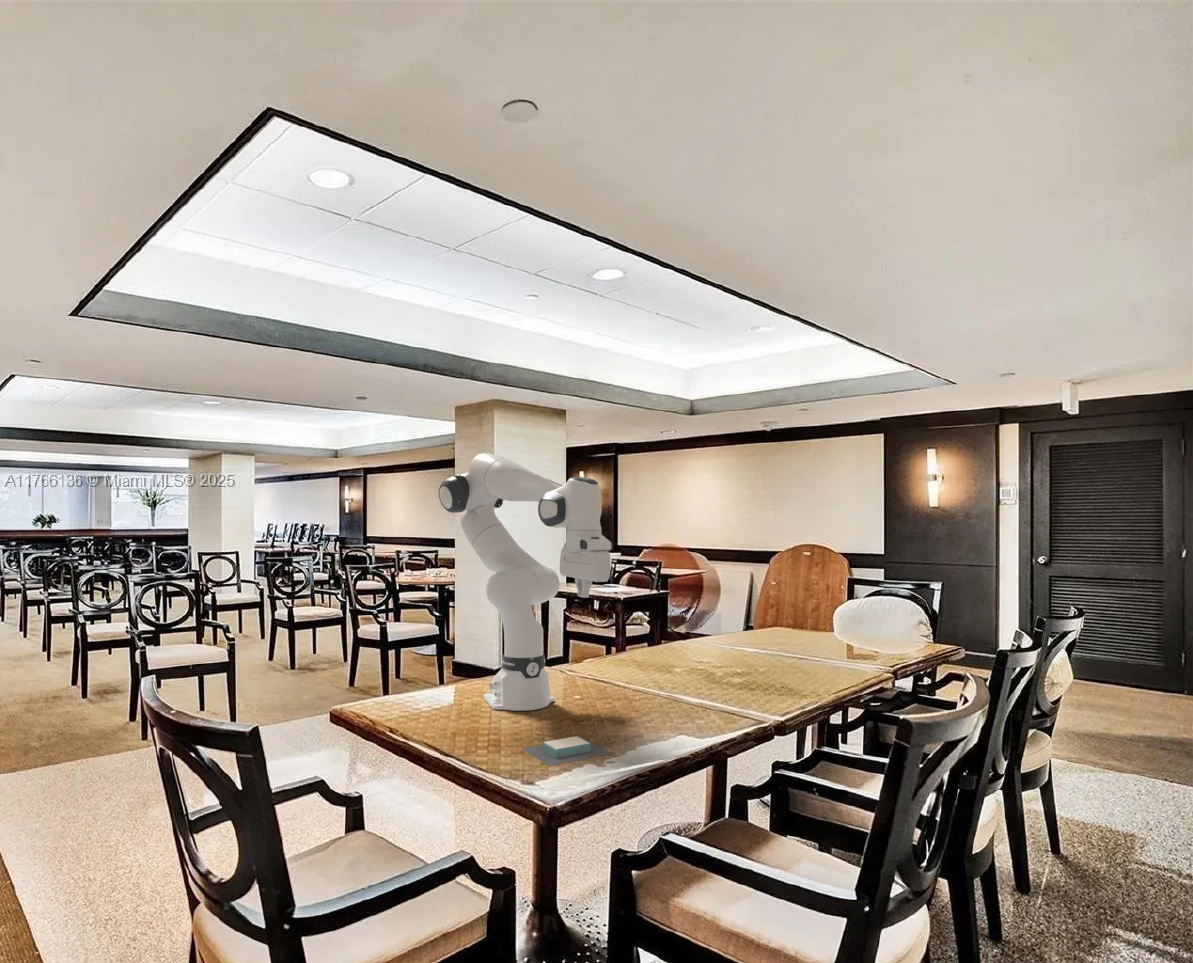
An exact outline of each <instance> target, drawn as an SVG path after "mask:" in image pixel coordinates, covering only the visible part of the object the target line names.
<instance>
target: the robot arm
mask: <svg viewBox="0 0 1193 963" xmlns="http://www.w3.org/2000/svg"><path fill="white" fill-rule="evenodd" d="M438 498H439V502H440V504H441V507H443V508H444V510H446V511H447V512H448V513H450V514H451V513H453V514H458V513H462V512H463V514H461V518H460V525H461V529H462V530H463V532H464V535H465V536H466V538H467V540H468V542H469V544H470V545H471V547H472V548H473V550H474V551H475V553H476V554H477V556H478V557H479V558H480V559H481V562H482V563H483V564H484V566H485V567H486V568H488V570H490V571H492V572H494V574H492V575H490V577H489V578H488V580H487V583H486V585H485V593H486V597H487V599H488V601H489V602H490V604H491V605H493V606H494V607H495V609H496V610H497V611H498V613H499V616H500V619H501V621H502V625H503V626H502V628H503V639H504V640H503V642H504V643H503V644H504V646H503V648H504V652H503V653H504V654H502V655H501V656H502V659H501V665H500V666H501V669H500V670H498V672H497V673H496V675H494V677H493V678H492V680H491V681H490V682H489V684H488V685H489V687H488V688H489V690H491V691H490V692H487V693H484V695H483V699H484V700H485V701H486V702H487V704H488V705H489V707H490V708H491V709H493V710H499V711H500V710H506V711H516V712H518V711H523V712H525V711H534V710H539V709H544V708H547V707H548V706H549V705H550V704H551V703H552V702H553V703H554V701H555V697H554V696H551V689H550V688H551V687H550V676H549V675H550V674H549V672H548V671H546V669H545V667H546V657H545V653H544V627H543V625H542V624H541V623H540V622H539V621H537V620H536V617H535V616H534V612H533V605H541V604H543V603H546V602H547V601H550V600H552V599H553V598H555V596H557V594H558V592H559V590H560V579H559V576H558V574H557V573H556V571H555V570H553V569H552V568H550V567H548V566H546V565H543V564H542V563H541V562H539V561H538V560H536V559H535V558H534V557H532V556H531V555H530V554H529V553H528V552H526V551H525V550H524V549H523V548H522V547H521V546H520V545H519V544H518V543H517V542H516V540H515V539H514V538H513V537H512V535H511V534H510V532H509V531H508V530H507V528H506V527H505V526H504V524H503V523H502V521H501V520H499V518H498V517H497V515H496V512H495V509H499V508H501V507H502V506H503V503H504V501H509V502H534V503H535V502H538V505H537V512H538V517H539V519H540V521H541V522H542V523H543V525H544V526H546V527H550V528H566V529H565V533H566V534H565V535H566V537H565V543H564V544H563V547H562V548H561V552H560V558H559V559H560V560H559V573H560V575H561V576H563V577H569V578H573V579H574V584H575V587H576V589H577V596H578V597H580V598H585V599H586V598H590V590H591V587H592V585H593V582H595V583H602V582H603V583H604V582H608V581H609V579H610V577H611V553H610V551H611V550H612V541H610V540H609V539H608V538H606V537H605V536H604V535H603V534H602V526H601V521H600V520H601V515H602V513H603V507H602V506H603V505H602V492H601V487H600V484H599V482H598V481H597V480H596V479H593V478H590V477H583V476H573V477H570V478H569V479H568V480H567V481H566V483H564V484H560V483H557V482H555V481H553V480H550V479H548V478H545V477H543V476H542V475H539V474H537V473H535V472H534V471H532V470H530V469H527V468H525V467H524V466H522V465H520V464H519V463H516V462H514V461H512V460H511V459H508V458H506V457H503V456H501V455H498V454H494V453H489V452H483V453H479V454H477V455H476V456H474V457H473V459H472V460H471V462H470V464H469V469H468V471H467V472H464V473H462V474H460V473H459V474H456V475H453V476H450V477H448V478H447V479H445V480H444V481H442V482H441V483H440V486H439V488H438Z"/></svg>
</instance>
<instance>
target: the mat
mask: <svg viewBox="0 0 1193 963" xmlns="http://www.w3.org/2000/svg"><path fill="white" fill-rule="evenodd" d="M580 738H581V739H583V740H585V741H587V742H589V743H591V751H590V752H585V753H579V754H574V755H569V756H563V757H558V758H555V757H553V756H552V755H550V754H548V753H547V752H545V751H543V744H540V745H533V746H528V747H523V748H522V750H524V751H526V752H527V753H528V754H530V755H531V756H533V757H534V758H536V759H538V760H539V761H541V762H542V763H544V764H546V765H547V766H548V767H552V766H553V767H554V766H558V765H562V764H567V763H575V762H579V761H583V760H589V759H595V758H600V757H605V756H609V755H611V756H612V755H614V753H613V752H612V751H609V750H607V749H605V748H603V747H602V746H599V745H598V744H596V743H594V742H592V741H590V740H588V739H586V738H585V737H580Z"/></svg>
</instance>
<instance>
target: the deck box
mask: <svg viewBox="0 0 1193 963" xmlns="http://www.w3.org/2000/svg"><path fill="white" fill-rule="evenodd" d="M581 738H582V737H579V736H576V735H575V736H569V737H564V738H559V739H558V738H557V739H553V740H548V741H543V742H542V745H543V751H545V752H547V753H548V754H550V755H552V756H553V757H555V758H558V757H563V756H569V755H574V754H579V753H585V752H590V751H591V743H589V742H587V741H585V740H583V739H581Z"/></svg>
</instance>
